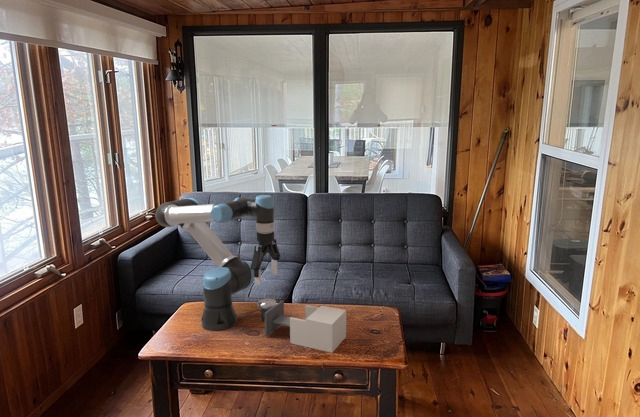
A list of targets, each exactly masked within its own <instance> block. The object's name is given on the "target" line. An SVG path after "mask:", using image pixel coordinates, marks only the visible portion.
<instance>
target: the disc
mask: <svg viewBox="0 0 640 417" xmlns="http://www.w3.org/2000/svg"><path fill="white" fill-rule="evenodd" d="M276 304H277V301H276V299H275V298H270V297H267V298H266V297H265V298H261V299H259V300H258V301H257V308H258V309H260V310H261V309H262V310H269V309H271V308H272V307H274V306H275V305H276Z"/></svg>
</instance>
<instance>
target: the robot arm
mask: <svg viewBox="0 0 640 417" xmlns="http://www.w3.org/2000/svg"><path fill="white" fill-rule="evenodd" d="M274 202H275V201H274V197H273V196H272V195H270V194H259V195H256V197H255V199H254V198H247V197H236V198H235V199H233V200H232V201H228V202H221V203H220V202H219V203H208V204H202V203H200V202H199V201H198V200H197V199H195V198H193V197H188V198H187V197H185V198H181V199H177V200H171V201H166V202H164V203H163V202H162V203H161V204H160V205H158V207H156V211H155V214H154V215H155V216H154V217H155V220H156V222H157V223H158V224H159V225H160V226H162V227H165V228H170V227H171V228H172V227H176V226H179V227H180V228H181V229H182V230H183V231H184V232H188V233H189V234H190V235H191V237H193V239H194V240H195V241H196V242H197V244H198V245H199V246H200V248H201V249H203V251H204V252H205V253H206V254H207V256H208V257H209V258H210V259H211V260H212V262H213V263H214V264H215V265H216V267H214V268H211V269H209V270H207V271H206V272H205V273H204V274H203V277H202V279H203V280H202V287H203V288H202V289H203V299H204V309H203V313H202V316H201V327H202V328H203V329H206V330H208V331H209V330H210V331H222V330H227V329H230V328H232V327H234V326H235V325H236V324H237V322H238V315H237V313H236V311H235V308H234V306H233V305H234V304H233V295H235V294H237V293H238V292H241V291H242V290H245V289H247V288H249V287H250V286H251V285H252V284H253V283H254V284H255V285H258V286H261V285H262V275H261V274H262V272H261V270H262V269H261V265H262V263H263V260H264V258H265V256H266V254H268V255H269V256H270V257H271V259H270V260H271V261H270V263H271V268H270V269H271V271H270V272H271V275H276V276H277V275H278V274H279V273H278V261H280V259H281V254H280V250H279V247H278V244H277V239H275V232H274V231H275V203H274ZM245 217H252V218H253V217H254V218H255V221H256V226H255V230H256V241H257V242H258V245H255V246H254V250H253V255H252V260H251V262H250V261H246V260H242V259H241V258H240V257H239V256H237V255H234V254H232V252H231V251H230V250H229V249H228V248H227V247H226V246H225V243H223V242H222V240H221V239H220V238H219V237H218V236H217V234H216V233H215V232H214V231H213V230H212V228H210V225H208V223H217V224H224V223H228V222H231V221H234V220H237V219H241V218H245Z"/></svg>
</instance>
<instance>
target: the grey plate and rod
mask: <svg viewBox="0 0 640 417" xmlns="http://www.w3.org/2000/svg"><path fill="white" fill-rule="evenodd" d="M291 317H292V316H286V315H285V302H284V300H280V301H279V302H277V303H276V305H275V306H274V307H272V308H271V309H269V310H268V311H267V312H265V321H264V336H265V337H268V336H270V335H271V334H272V333H273V332H275V331H276V330H277V329H278V328H279V327H281V326H287V327H290V318H291Z"/></svg>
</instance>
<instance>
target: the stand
mask: <svg viewBox="0 0 640 417" xmlns="http://www.w3.org/2000/svg"><path fill="white" fill-rule="evenodd" d="M267 311H268V310H262V309H260V320H261V321H263V322H265V312H267Z"/></svg>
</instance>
